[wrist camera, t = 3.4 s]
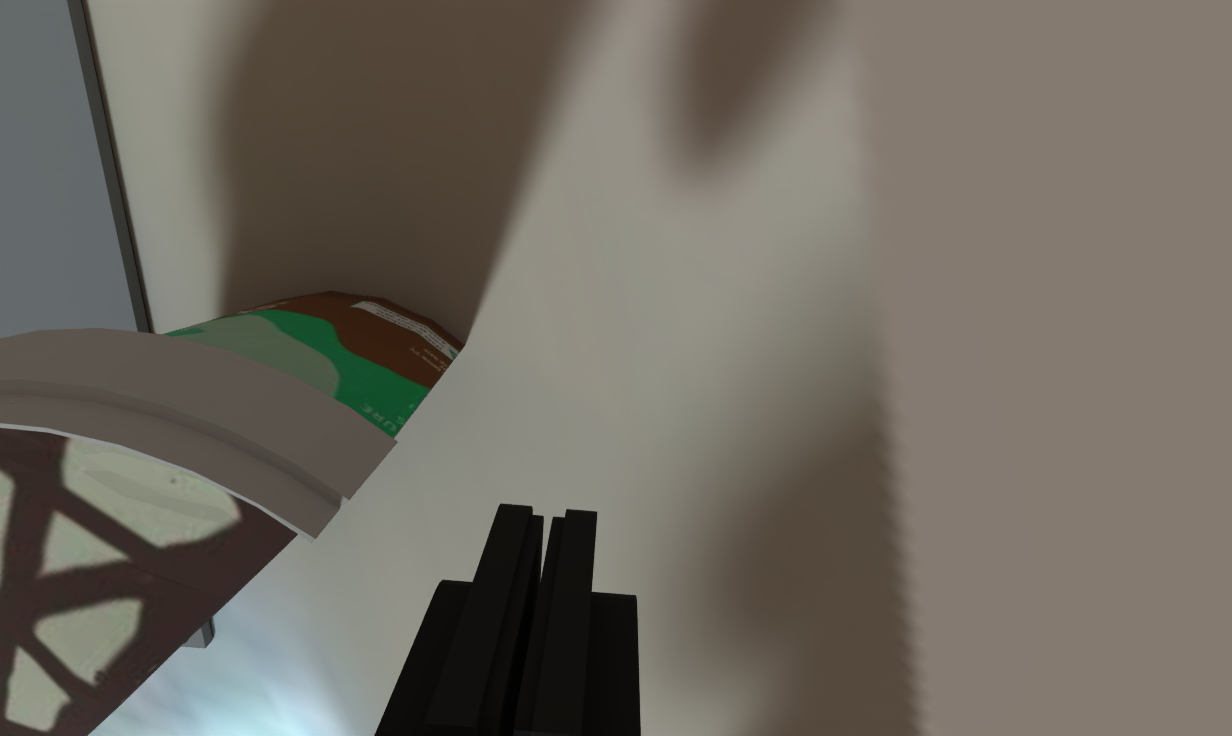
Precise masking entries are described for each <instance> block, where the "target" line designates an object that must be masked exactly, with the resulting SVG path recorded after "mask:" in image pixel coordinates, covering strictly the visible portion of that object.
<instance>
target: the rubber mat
mask: <svg viewBox="0 0 1232 736" xmlns="http://www.w3.org/2000/svg"><path fill="white" fill-rule="evenodd" d="M81 328H106V329H116V330H125V331H134V332H143V333H149V328H148V323H147V319H146V314H145V309H144V304H143V299H142V294H141V290H140V285H139V280H138V275H137V270H136V265H135V260H134V256H133V251H132V246H131V241H130V236H129V231H128V227H127V222H126V217H125V212H124V207H123V202H122V198H121V193H120V188H119V183H118V178H117V173H116V168H115V164H114V159H113V154H112V149H111V144H110V139H109V135H108V130H107V125H106V120H105V115H104V110H103V105H102V101H101V96H100V91H99V86H98V81H97V76H96V72H95V67H94V62H93V57H92V52H91V47H90V42H89V38H88V33H87V28H86V23H85V18H84V13H83V9H82V4H81V0H0V338H4V337H9V336H13V335H18V334H23V333H28V332H32V331H37V330H58V329H81ZM212 640H213V638H212V634H211V629H210V624H209V620H208V621H207V622H206V623H205V624H204V625H203V626H202V627H201V628H200V629H199V630H198V631H197V632H195V633H194V634H193V635H192V636H191V637H190V638H189V640H188V641H187V642H186V643H185V644H183V645H182V646H183V647H195V648H206V647H207V646H208V645H209V643H210V642H211V641H212Z"/></svg>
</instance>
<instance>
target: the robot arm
mask: <svg viewBox="0 0 1232 736" xmlns="http://www.w3.org/2000/svg"><path fill="white" fill-rule="evenodd" d="M543 524H544V517H543V516H540V515H533V508H532V506H524V505H512V504H500V505H499V507H498V510H497V513H496V516H495V519H494V522H493V524H492V527H491V530H490V533H489V536H488V539H487V542H486V545H485V548H484V551H483V554H482V556H481V559H480V562H479V565H478V568H477V571H476V574H475V577H474V580H473V582H464V581H452V580H442V581H441V582H440V583H439V585H438V586H437V588H436V590H435V593H434V595H433V597H432V600H431V602H430V605H429V607H428V609H427V612H426V614H425V616H424V619H423V621H422V624H421V626H420V628H419V631H418V633H417V635H416V638H415V640H414V643H413V645H412V647H411V650H410V652H409V655H408V657H407V659H406V662H405V664H404V666H403V669H402V671H401V674H400V676H399V678H398V681H397V683H396V685H395V688H394V690H393V693H392V695H391V697H390V700H389V702H388V705H387V707H386V709H385V712H384V714H383V716H382V719H381V721H380V724H379V726H378V728H377V731H376V733H375V735H374V736H641V726H640V691H639V655H638V619H637V598H636V595H625V594H612V593H600V592H592V579H593V565H594V552H595V538H596V524H597V512H595V511H583V510H571V509H566V514H565V518H564V517H553V519H552V524H551V530H550V535H549V540H548V545H547V551H546V556H545V561H544V566H543V572H542V577H541V561H542V542H543ZM540 580H541V582H540Z"/></svg>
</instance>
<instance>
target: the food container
mask: <svg viewBox="0 0 1232 736" xmlns="http://www.w3.org/2000/svg"><path fill="white" fill-rule="evenodd" d="M464 346H465V345H464V344H462V343H461V342H460V341H458V340H457V339H456V338H455V337H453V336H452V335H451V334H450V333H448V332H447V331H446V330H445V329H443V328H442V327H441V326H439V325H438V324H437V323H436V322H434V321H433V320H431V319H428V318H426V317H424V316H422V315H420V314H417V313H415V312H413V311H411V310H408V309H406V308H404V307H402V306H399V305H397V304H395V303H393V302H391V301H388V300H386V299H384V298H378V297H371V296H364V295H357V294H349V293H342V292H335V291H327V292H322V293H316V294H311V295H305V296H299V297H294V298H288V299H283V300H279V301H276V302H272V303H269V304H265V305H262V306H258V307H255V308H252V309H248V310H245V311H241V312H238V313H234V314H231V315H227V316H224V317H221V318H217V319H214V320H210V321H207V322H203V323H200V324H196V325H193V326H190V327H186V328H183V329H179V330H176V331H172V332H169V333H165V334H153V333H143V332H134V331H125V330H116V329H106V328H81V329H58V330H37V331H32V332H28V333H23V334H18V335H13V336H9V337H4V338H0V736H88V735H89V734H90V733H91V732H92V731H93V730H94V729H95V728H96V727H97V726H98V725H99V724H101V723H102V722H103V721H104V720H105V719H106V718H107V717H108V716H109V715H110V714H111V713H112V712H114V711H115V710H116V709H117V708H118V707H119V706H120V705H121V704H122V703H123V702H124V701H125V700H126V699H127V698H128V697H129V696H130V695H131V694H132V693H133V692H134V691H135V690H136V689H137V688H138V687H139V686H140V685H141V684H142V683H143V682H145V681H146V680H147V679H148V678H149V677H150V676H151V675H152V674H153V673H154V672H155V671H156V670H157V669H158V668H159V667H160V666H161V665H162V664H163V663H164V662H165V661H166V660H167V659H168V658H169V657H170V656H171V655H172V654H173V653H174V652H175V651H176V650H177V649H178V648H180V647H181V646H182V645H183V644H185V643H186V642H187V641H188V640H189V638H190V637H191V636H192V635H193V634H194V633H195V632H197V631H198V630H199V629H200V628H201V627H202V626H203V625H204V624H205V623H206V622H207V621H208V620H209V619H210V618H211V617H213V616H214V615H215V614H216V613H217V612H218V611H219V610H220V609H221V608H222V607H223V606H224V605H225V604H226V603H227V602H228V601H229V600H231V599H232V598H233V597H234V596H235V595H236V594H237V593H238V592H239V591H240V590H241V589H242V588H243V587H244V586H245V585H246V584H247V583H248V582H249V581H250V580H251V579H252V578H253V577H254V576H256V575H257V574H258V573H259V572H260V571H261V570H262V569H263V568H264V567H265V566H266V565H267V564H268V563H269V562H270V561H271V560H272V559H273V558H274V557H275V556H276V555H277V554H278V553H279V552H281V551H282V550H283V549H284V548H285V547H286V546H287V545H288V544H289V543H290V542H291V541H292V540H293V539H294V538H295V537H296V536H297V535H298V534H299V535H300V536H302V537H303V538H305V539H307V540H308V541H310V542H311V543H312V542H313V541H314V540H315V539H316V538H317V537H318V535H319V534H320V533H321V532H322V530H323V529H324V528H325V527H326V525H327V524H328V523H329V522H330V520H331V519H332V518H333V517H334V516H335V514H336V513H337V512H338V511H339V509H340V508H341V507H342V506H344V505H345V504H346V503H347V502H348V501H349V500H350V499H351V497H352V496H353V495H354V494H355V493H356V491H357V490H358V489H359V488H360V487H361V485H362V484H363V483H364V482H365V481H366V479H367V478H368V477H369V476H370V475H371V473H372V472H373V471H374V470H375V469H376V467H377V466H378V465H379V464H380V463H381V461H382V460H383V459H384V458H385V457H386V455H387V454H388V453H389V452H390V451H391V450H392V448H393V447H394V446H395V445H396V444H397V441H396V440H394V437H395V436H396V435H397V434H398V432H399V431H400V430H401V428H402V427H403V426H404V424H405V423H406V422H407V421H408V419H409V418H410V417H411V415H412V414H413V413H414V411H415V410H416V409H417V408H418V406H419V405H420V404H421V402H422V401H423V400H424V398H425V397H426V396H427V395H428V393H429V392H430V391H431V389H432V388H433V387H434V385H435V384H436V383H437V382H438V380H439V379H440V378H441V376H442V375H443V374H444V372H445V371H446V370H447V369H448V367H449V366H450V365H451V363H452V362H453V361H454V359H455V358H456V357H457V356H458V354H459V353H460V352H461V350H462V349H463V348H464Z"/></svg>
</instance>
